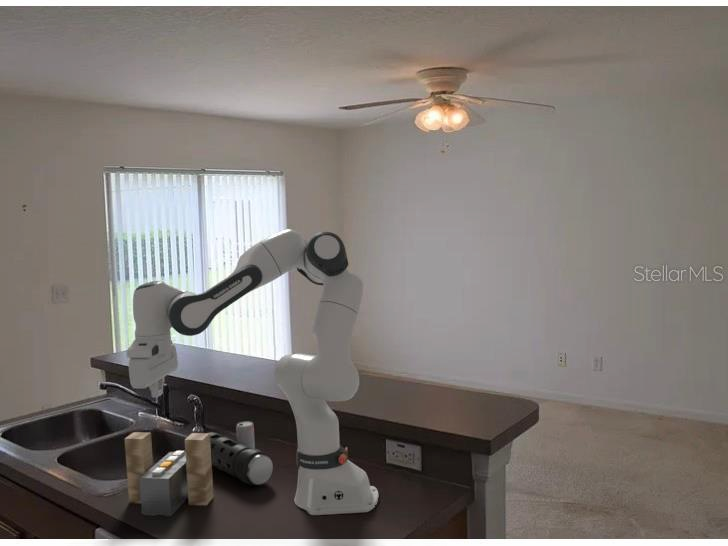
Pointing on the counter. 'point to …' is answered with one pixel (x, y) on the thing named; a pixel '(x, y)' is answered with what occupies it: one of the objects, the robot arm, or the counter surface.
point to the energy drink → (246, 433)
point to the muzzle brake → (240, 460)
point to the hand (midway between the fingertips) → (157, 395)
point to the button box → (165, 485)
